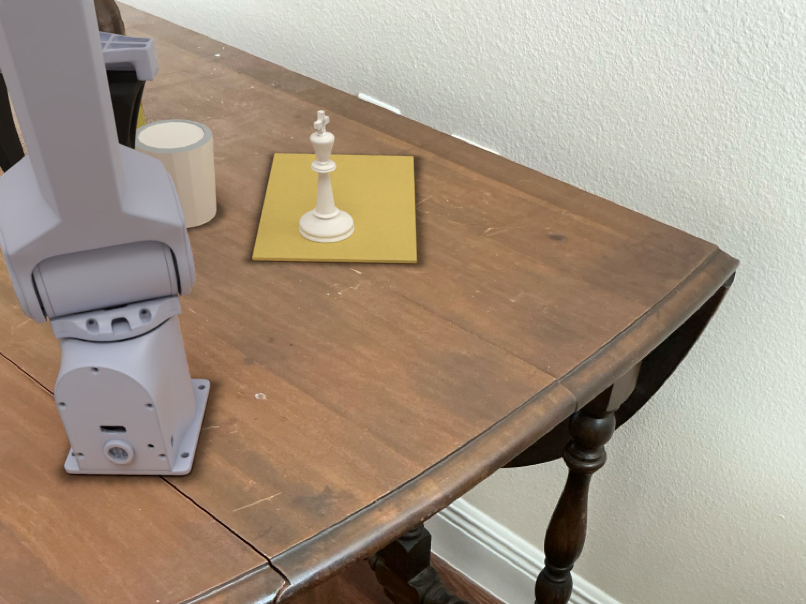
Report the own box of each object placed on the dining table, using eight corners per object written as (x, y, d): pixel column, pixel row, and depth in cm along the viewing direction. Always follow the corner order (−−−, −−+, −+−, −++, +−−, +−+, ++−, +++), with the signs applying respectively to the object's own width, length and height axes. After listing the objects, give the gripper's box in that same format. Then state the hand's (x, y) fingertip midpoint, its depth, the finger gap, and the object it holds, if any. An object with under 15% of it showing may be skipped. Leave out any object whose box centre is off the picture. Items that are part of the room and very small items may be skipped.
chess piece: (288, 234, 74) (277, 115, 67) (317, 210, 77) (311, 94, 70) (336, 248, 73) (331, 129, 65) (364, 223, 76) (363, 107, 68)
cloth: (416, 263, 72) (416, 260, 72) (252, 260, 72) (252, 257, 71) (413, 158, 85) (413, 155, 85) (274, 155, 85) (274, 152, 85)
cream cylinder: (207, 235, 74) (194, 156, 69) (134, 226, 75) (116, 146, 70) (233, 199, 79) (223, 122, 73) (164, 191, 79) (149, 113, 74)
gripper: (149, -57, 53) (185, 159, 63) (-85, -64, 53) (-10, 155, 63) (125, -23, 48) (168, 204, 59) (-132, -30, 48) (-43, 200, 58)
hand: (74, 182), depth 60 cm, fingers open, 7 cm apart
